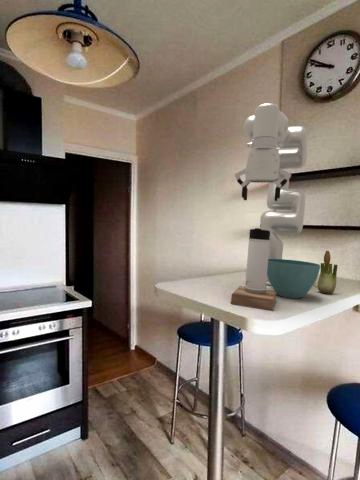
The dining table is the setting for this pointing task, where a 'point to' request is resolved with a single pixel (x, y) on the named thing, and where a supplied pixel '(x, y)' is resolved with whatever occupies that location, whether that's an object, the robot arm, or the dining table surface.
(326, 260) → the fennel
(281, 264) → the teal bowl
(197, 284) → the dining table surface
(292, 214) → the robot arm
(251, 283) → the travel mug
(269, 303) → the walnut board
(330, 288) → the fennel bulb
